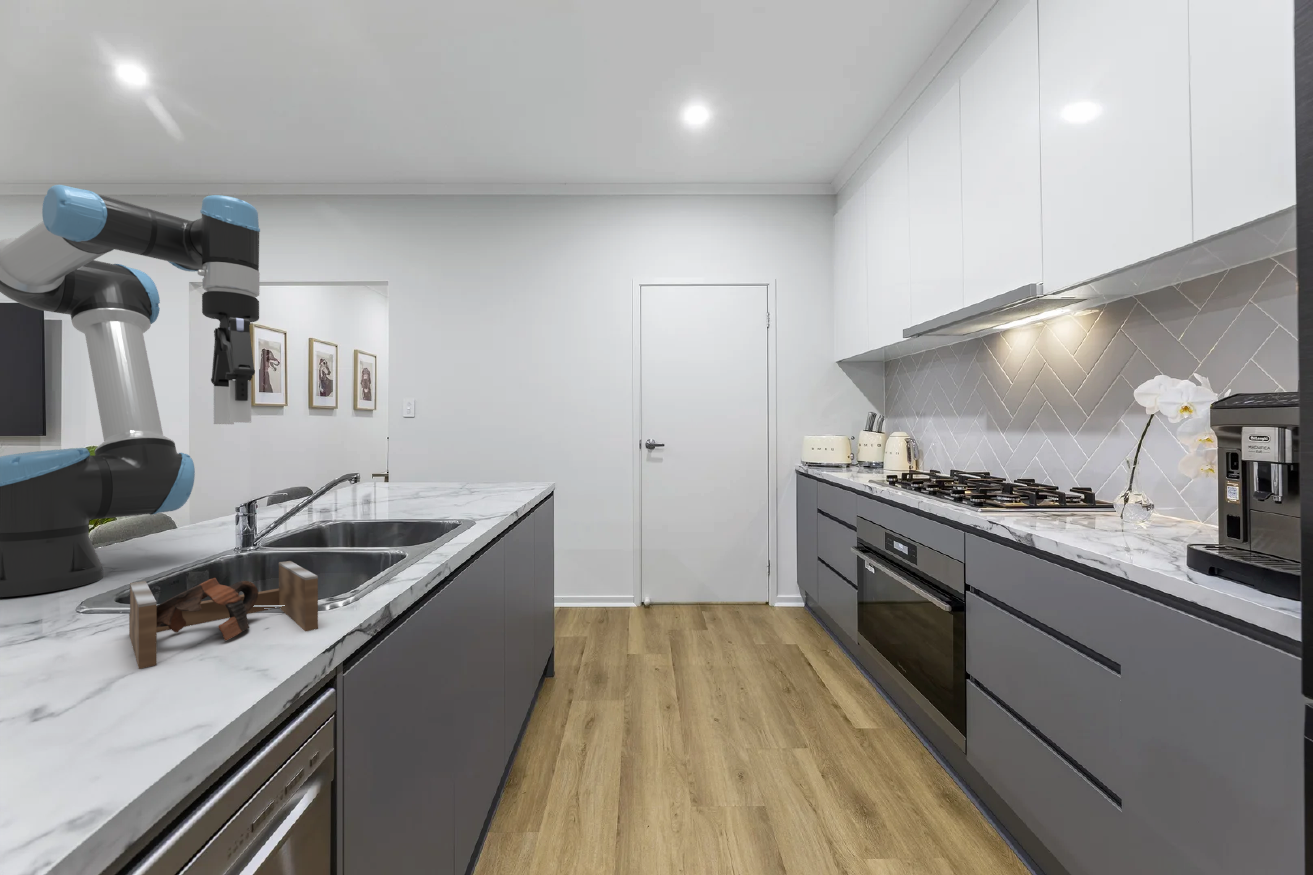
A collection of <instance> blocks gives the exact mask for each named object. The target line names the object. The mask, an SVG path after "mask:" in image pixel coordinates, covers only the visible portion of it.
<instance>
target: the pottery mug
mask: <svg viewBox="0 0 1313 875" xmlns="http://www.w3.org/2000/svg"><path fill="white" fill-rule="evenodd" d="M240 592H241V593H242V594H244V600H243V601H242V600H241V597H240V596H239V595H240ZM258 592H259V591H258V588H257V586H256V585H255V583H253V582H252V581H249V580H241V581H237V582H235V583H233V584H231V585H224V584H220V582H219V581H218V580H217V578H216V577H213V578H210V579H207V580H205V581H203V582H201V583H199V584H198V585H195V586H192V587H191V588H189V589H186V590H184V591H183V592H180V593H179V594H177V595H174V596H173V597H171V598H168V599H167V600H165V601H163V602H161V603H159V604H157V627H165V626H168V627H169V629H171V630H170V631H172V632H174V633H178V632H180V631H181V630H182V629H183V628H185V627H184V626H185V625H186V621H185V619H184V618H183V616H182V611H189V612H196V611H200V610H202V608H201V606H200V603H201V601H202V600H204V599H205V598H207V597H209V598H210V600H212V601H213V602H216V603H217V604H219V605H226V608H227V609H228V611H229V615H230V618H228V619H227V620H226V621H223V623H221V624H219V625H218V626H217V627H218V630H219V631H220V632H221V633H222V634H221V635H222V637H223V640H224V641H228V640H230V639H233V638H235V637H236V636H238V635H239V634H241V633H242V632H245V631H246V630H249V629H250V625H249V622H248V614H247V612H248V611H249V610H250V609H251V608H252V607H253V606H254V604H255V602H256V600H257V597H258Z"/></svg>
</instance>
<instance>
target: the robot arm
mask: <svg viewBox="0 0 1313 875" xmlns="http://www.w3.org/2000/svg"><path fill="white" fill-rule="evenodd" d="M201 202H202V204H201V208H200V214H201V217H200V218H198V219H195V220H189V219H185V218H182V217H179V216H175V215H171V214H170V213H166V212H161V211H159V210H158V211H157V210H155V209H151V208H148V207H144V206H140V205H136V204H133V203H129V202H127V201H123V200H119V199H116V198H112V197H109V196H106V195H102V194H99V193H96V192H94V191H92V190H88V189H84V188H83V189H82V188H77V187H72V186H68V185H64V184H54V185H52V186H51V187H49V188H48V189H47V192H46V195H45V196H44V197H43V202H42V212H41V214H42V221H41V222H39V223H38V224H36V225H35V226H33V227H32V228H30V229H29V230H28V231H25V232H24V233H23V234H22V235H20V236H18V237H10V238H4V239H1V240H0V294H3V296H5V297H6V298H8V299H10V300H12V301H14V302H16V303H19V304H21V305H23V306H26V307H29V308H31V309H36V310H39V311H44V312H49V313H50V312H51V313H58V314H62V315H68V316H69V315H70V319H71V323H72V326H73V327H74V329H75V330H76V331H78V332H80V333H81V334H84V336H85V340H86V342H85V343H86V347H87V352H88V358H89V359H88V360H89V363H90V364H89V365H90V369H91V376H92V381H93V387H94V392H95V398H96V404H97V409H98V410H97V411H98V414H99V420H100V426H101V432H102V437H103V442H102V443H101V444H99V445H98V446H97V447H95V450H94V455H91V453H90V451H89V449H88V448H85V447H75V448H73V447H72V448H61V449H50V450H41V451H30V452H22V453H21V452H20V453H12V454H6V455H3V456H2V455H1V456H0V598H9V597H18V596H19V597H20V596H27V595H36V594H43V593H50V592H56V591H63V590H68V589H72V588H76V587H81V586H86V585H89V584H92V583H95V582H98V581H100V580H102V579H103V576H104V575H103V573H104V572H103V571H104V570H103V563H102V562H101V559H100V558H99V555H98V553H97V551H96V549H95V546H94V545H93V543H92V540H91V539H90V536H89V535H90V534H89V533H90V532H89V530H90V529H89V523H90V520H100V519H109V518H110V519H111V518H121V517H131V516H132V517H133V516H141V515H142V516H143V515H150V516H152V515H153V516H154V515H157V514H162V513H168V512H174V511H177V510H179V509H181V508H183V506H184V505H186V504H187V502H188V500H189V498H190V497H191V494H192V491H193V487H194V484H195V478H196V477H195V476H196V473H195V468H196V467H195V463H194V460H193V459H192V457H191V456H190V454H187V453H184V452H177V448H176V443H175V441H174V440H173V439H171V438H168V437H166V436H165V435H164V433H163V429H162V428H163V427H162V423H161V418H160V412H159V407H158V403H157V397H156V393H155V388H154V383H153V382H154V381H153V377H152V373H151V368H150V362H149V357H148V353H147V352H148V351H147V347H146V346H147V345H146V342H145V337H144V333H147V331H149V329H150V328H151V325H152V324H154V323H155V322H157V319H158V318H159V316H160V315H159V314H160V306H159V304H161V302H160V301H161V300H160V295H159V291H158V288H157V286H156V285H157V284H155V281H153V279H152V277H151V276H149V274H148V273H146V272H145V271H142V270H140V269H136V268H133V267H129V266H127V265H123V264H120V263H109V262H103V261H99V260H96V259H98V258H100V257H102V256H103V255H105V254H107V253H110V252H113V251H114V250H116V251H121V252H126V253H130V254H134V255H138V256H139V255H140V256H143V257H147V258H148V257H149V258H152V259H157V260H162V261H166V262H168V263H169V264H170V265H172V267H173V266H174V267H175V268H177V269H179V270H182V271H185V272H194V273H195V272H197V275H198V276H200V277H203V278H202V283H201V284H202V285H201V286H202V289H203V290H204V291H205V292H203V293H202V294H201V307H202V308H201V312H202V315H204V316H205V317H206V318H209V319H211V320H212V319H213V320H218V321H219V327H216V328H215V329H213V333H214V334H213V337H214V345H213V347H214V348H213V358H212V369H211V370H212V371H211V377H210V382H211V383H212V385H213V425H235V423H249V424H250V423H252V379H253V376H255V374H256V370H255V365H254V357H253V348H252V342H251V341H252V340H251V334H250V333H251V331H250V330H251V323H255V322H257V321H259V320H260V301H259V299H258V297H259V296H260V275H261V274H260V272H259V270H260V268H259V267H260V232H261V228H260V227H259V226H260V225H259V212H258V210H257V208H256V207H255V206H254V205H252V204H251V203H249V202H247V201H245V200H242V199H240V198H237V197H234V196H228V195H221V194H220V195H219V194H213V195H207V196H205V197H204V198H202V201H201Z"/></svg>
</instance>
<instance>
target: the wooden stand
mask: <svg viewBox="0 0 1313 875" xmlns="http://www.w3.org/2000/svg"><path fill="white" fill-rule="evenodd" d="M318 587H319V576H318V575H317V574H315V573H313V572H311V571H310V570H308V569H307V568H304V567H302V566H300V565H298V564H297V563H295V562H293V561H292V560H288V561H279V562H278V588H273V589H268V590H263V591H262V590H261V591H258V597H257V600H256V602H255V604H254V605H285V606H282V607H279V609H280V608H281V609H280V610H281V611H282V612H283V613H284V614H285V615H286V616H288V617H289V618H290V620H292V621H293V622H294V623H295V624H296V625H297V626H298V627H300V629H302V630H303V631H304V632H305V633H306V632H310V631H313V630H314V629H315V630H318V629H319V617H318V616H319V588H318ZM239 596H240V597H241V600H242V601H243V600H244V593H242V594H239ZM157 605H158V604H157V600H156V599H155V596H154V594H153V592H152V590H151V589H150V587H149V585H148V583H147V581H146V580H143V581H136V582H134V581H133V582H130V583H129V613H128V616H129V617H128V620H129V621H128V622H129V624H128V625H129V626H128V627H129V628H128V629H129V630H128V631H129V637H130V639H129V640H130V644H131V646H133V647H132V650H133V654H134V657H135V661H136V664H137V667H138V670H140V669H141V670H142V669H145V668H150V667H155V666H157V662H158V660H157V659H158V657H157V654H158V650H157V646H158V645H157V639H158V638H157V633H161V632H167V631H172V630H171V629H169V627H168V626H165V627H157ZM200 606H201V608H202V610H200V611H196V612H189V611H182V616H183V618H184V619H185V621H186V625H185V626H184V627H183V628H186V627H190V625H191V626H195V625H200V624H205V623H209V622H214V621H219V620H225V619H230V615H229V611H228V609H227V608H226V605H219V604H217V603H216V602H213V601H212V599H208V600H207V599H206V600H203V601H202V600H201V603H200ZM264 608H274V609H276V608H275V607H252V608H251V609H250V610H249V611H248V612H247V615H249V614H254V613H255V614H256V613H258V612H259V613H260V612H264V611H265V612H266V611H269V610H268V609H264Z"/></svg>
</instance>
